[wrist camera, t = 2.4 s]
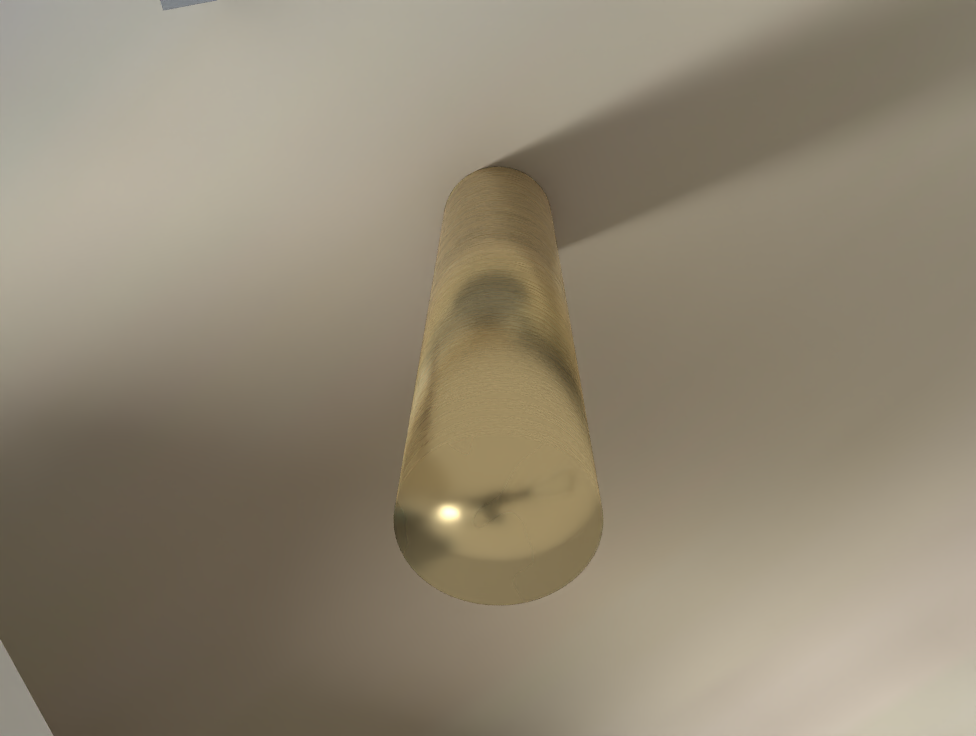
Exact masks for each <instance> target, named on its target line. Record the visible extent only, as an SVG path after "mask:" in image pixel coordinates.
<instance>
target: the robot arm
mask: <svg viewBox="0 0 976 736" xmlns="http://www.w3.org/2000/svg"><path fill="white" fill-rule="evenodd" d="M0 736H53V734H52V732H51V730H50V729H49V727H48V725H47V723H46V721H45V720H44V718H43V716H42V714H41V712H40V711H39V709H38V707H37V705H36V703H35V701H34V700H33V698H32V696H31V694H30V692H29V691H28V689H27V687H26V685H25V683H24V681H23V680H22V678H21V676H20V674H19V672H18V671H17V669H16V667H15V665H14V663H13V661H12V660H11V658H10V656H9V654H8V652H7V651H6V649H5V647H4V645H3V643H2V642H1V640H0Z"/></svg>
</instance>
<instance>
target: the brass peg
mask: <svg viewBox="0 0 976 736" xmlns="http://www.w3.org/2000/svg"><path fill="white" fill-rule="evenodd" d="M602 528H603V510H602V505H601V499H600V493H599V487H598V481H597V476H596V470H595V464H594V458H593V452H592V446H591V441H590V435H589V429H588V423H587V417H586V412H585V406H584V400H583V394H582V388H581V383H580V377H579V371H578V365H577V359H576V353H575V348H574V342H573V336H572V330H571V324H570V319H569V313H568V307H567V301H566V295H565V289H564V284H563V278H562V272H561V266H560V260H559V255H558V249H557V243H556V237H555V231H554V226H553V220H552V214H551V209H550V204H549V202H548V199H547V197H546V195H545V193H544V191H543V190H542V189H541V187H540V186H539V185H538V184H537V183H536V182H535V181H534V180H533V179H532V178H531V177H529V176H528V175H526V174H524V173H522V172H520V171H518V170H515V169H511V168H506V167H489V168H485V169H481V170H478V171H475V172H473V173H472V174H470V175H468V176H467V177H465V178H464V179H463V180H461V181H460V182H459V183H458V184H457V186H456V187H455V188H454V189H453V191H452V192H451V194H450V196H449V198H448V200H447V203H446V207H445V211H444V217H443V223H442V229H441V235H440V241H439V247H438V253H437V259H436V265H435V271H434V277H433V283H432V289H431V295H430V301H429V307H428V313H427V319H426V325H425V331H424V337H423V342H422V348H421V354H420V360H419V366H418V372H417V378H416V384H415V390H414V396H413V402H412V408H411V414H410V420H409V426H408V432H407V438H406V444H405V450H404V456H403V462H402V468H401V474H400V480H399V486H398V492H397V498H396V504H395V511H394V530H395V535H396V539H397V542H398V545H399V548H400V550H401V552H402V554H403V556H404V558H405V559H406V561H407V562H408V563H409V565H410V566H411V568H412V569H413V570H414V571H415V572H416V573H417V574H418V575H419V576H420V577H421V578H422V579H424V580H425V581H426V582H427V583H429V584H430V585H432V586H433V587H435V588H436V589H438V590H440V591H441V592H444V593H446V594H448V595H450V596H452V597H455V598H458V599H461V600H464V601H468V602H472V603H477V604H485V605H513V604H519V603H525V602H529V601H533V600H536V599H540V598H542V597H545V596H547V595H549V594H552V593H554V592H555V591H557V590H559V589H561V588H563V587H564V586H565V585H567V584H568V583H570V582H571V581H572V580H574V579H575V578H576V577H577V576H578V575H579V574H580V573H581V572H582V571H583V570H584V568H585V567H586V566H587V565H588V564H589V562H590V561H591V559H592V557H593V556H594V554H595V552H596V550H597V547H598V545H599V542H600V539H601V535H602Z"/></svg>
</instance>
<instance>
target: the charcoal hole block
mask: <svg viewBox="0 0 976 736" xmlns="http://www.w3.org/2000/svg"><path fill="white" fill-rule="evenodd" d="M160 1H161V4H162V8H163V10H168V9H173V8H179V7H184V6H189V5H195V4H200V3H205V2H210V1H216V0H160Z"/></svg>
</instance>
